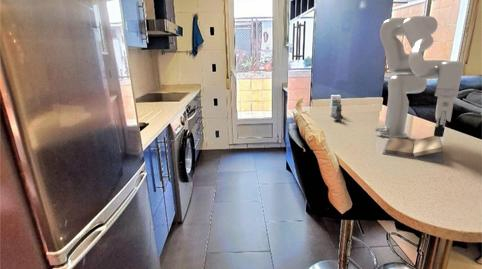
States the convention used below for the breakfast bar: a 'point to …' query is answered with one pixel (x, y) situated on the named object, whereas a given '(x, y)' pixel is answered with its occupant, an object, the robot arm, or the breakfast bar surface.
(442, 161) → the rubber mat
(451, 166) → the breakfast bar surface
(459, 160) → the breakfast bar surface
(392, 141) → the walnut board
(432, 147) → the ash plank
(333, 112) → the syrup box
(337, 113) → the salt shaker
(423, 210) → the breakfast bar surface
